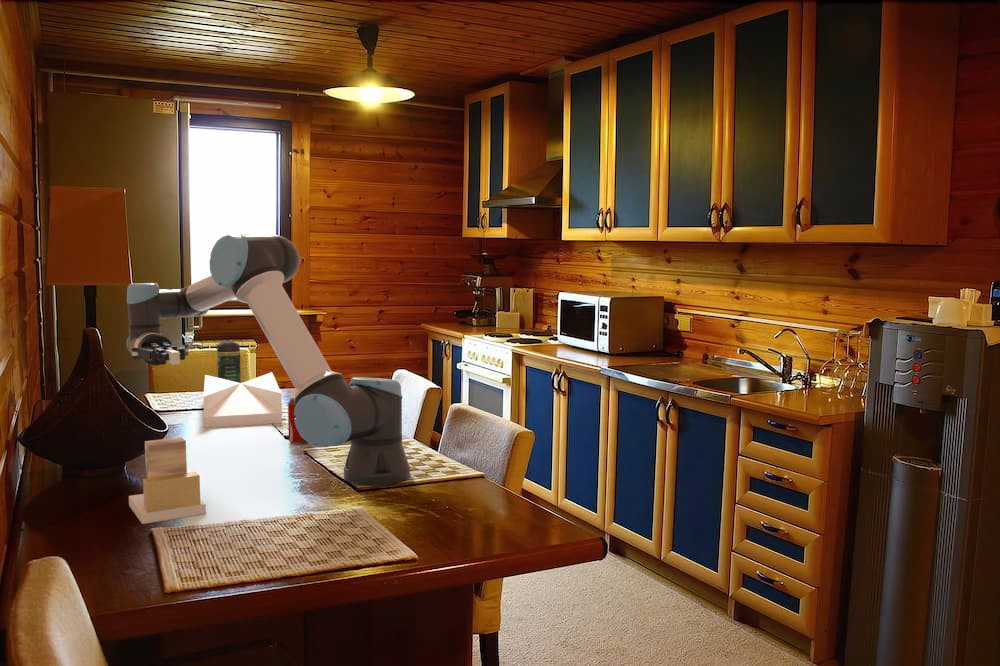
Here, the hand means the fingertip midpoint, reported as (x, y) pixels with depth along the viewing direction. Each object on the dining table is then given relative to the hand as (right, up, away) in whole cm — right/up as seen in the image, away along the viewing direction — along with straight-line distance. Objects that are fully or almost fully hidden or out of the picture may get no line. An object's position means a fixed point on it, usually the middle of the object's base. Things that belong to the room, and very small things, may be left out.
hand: (176, 358), depth 192 cm
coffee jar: (-27, -16, +124) cm, 128 cm away
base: (+4, -30, -15) cm, 34 cm away
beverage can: (+17, -24, +44) cm, 53 cm away
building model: (-12, -20, +88) cm, 91 cm away
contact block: (+7, -29, -20) cm, 36 cm away
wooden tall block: (+4, -28, -16) cm, 33 cm away
